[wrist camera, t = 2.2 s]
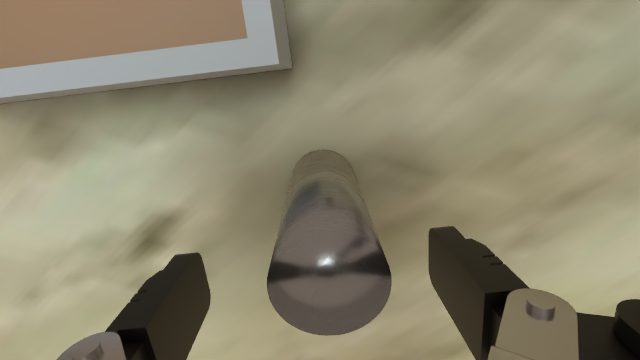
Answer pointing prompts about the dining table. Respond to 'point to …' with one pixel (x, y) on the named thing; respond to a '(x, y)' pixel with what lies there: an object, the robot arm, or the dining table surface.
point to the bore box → (134, 43)
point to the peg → (327, 251)
